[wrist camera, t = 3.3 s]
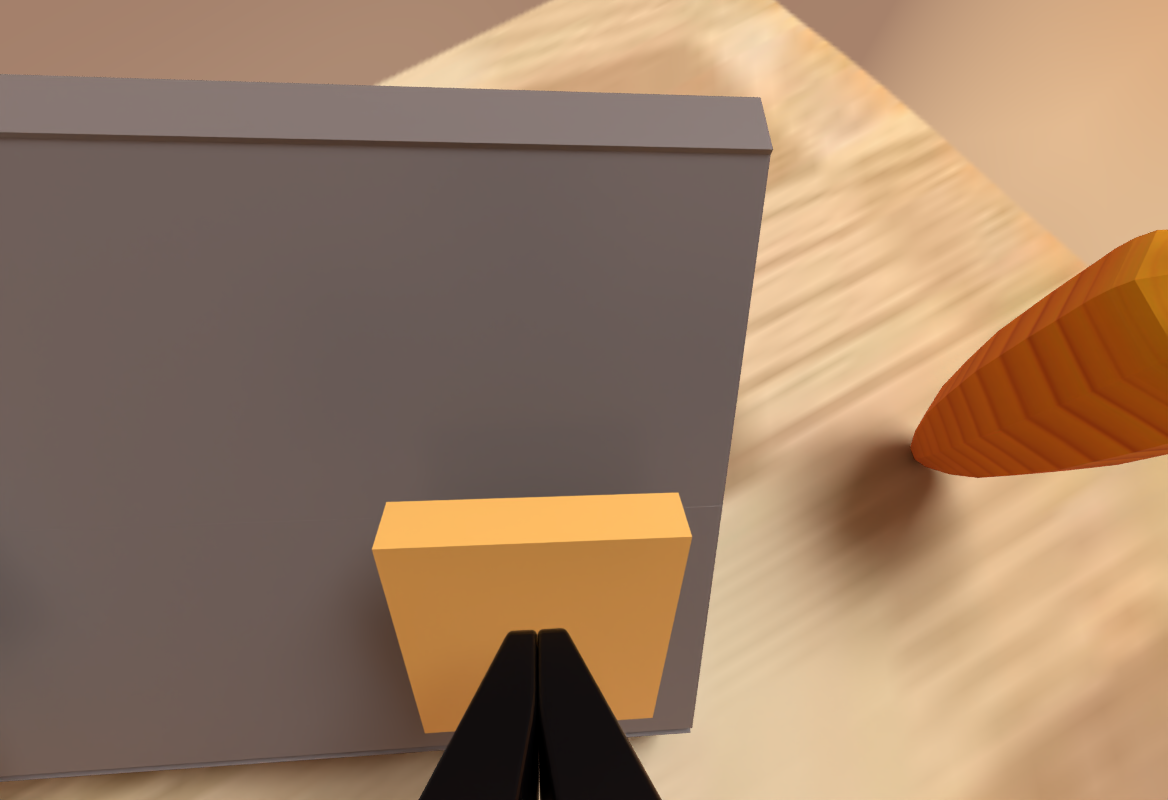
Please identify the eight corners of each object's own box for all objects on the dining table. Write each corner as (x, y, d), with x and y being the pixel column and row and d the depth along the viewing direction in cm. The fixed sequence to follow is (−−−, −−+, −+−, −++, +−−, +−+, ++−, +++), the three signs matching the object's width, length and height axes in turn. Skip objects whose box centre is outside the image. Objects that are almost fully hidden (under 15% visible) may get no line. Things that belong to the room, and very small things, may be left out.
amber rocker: (646, 705, 13) (712, 834, 8) (431, 720, 12) (360, 865, 7) (636, 493, 14) (689, 492, 9) (435, 500, 13) (373, 502, 8)
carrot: (850, 496, 20) (1509, 228, 6) (861, 382, 22) (1390, -13, 8) (979, 536, 20) (1953, 347, 6) (980, 417, 22) (1726, 71, 8)
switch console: (667, 715, 17) (964, 940, 5) (-94, 767, 15) (-2464, 1316, 3) (637, 385, 21) (757, 87, 9) (41, 395, 20) (-757, 37, 8)
